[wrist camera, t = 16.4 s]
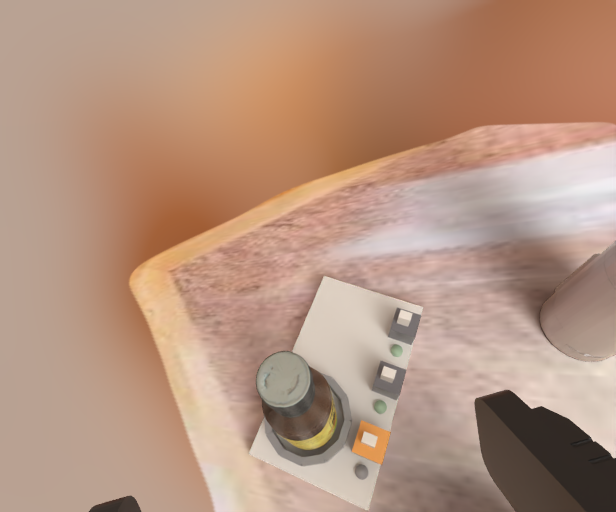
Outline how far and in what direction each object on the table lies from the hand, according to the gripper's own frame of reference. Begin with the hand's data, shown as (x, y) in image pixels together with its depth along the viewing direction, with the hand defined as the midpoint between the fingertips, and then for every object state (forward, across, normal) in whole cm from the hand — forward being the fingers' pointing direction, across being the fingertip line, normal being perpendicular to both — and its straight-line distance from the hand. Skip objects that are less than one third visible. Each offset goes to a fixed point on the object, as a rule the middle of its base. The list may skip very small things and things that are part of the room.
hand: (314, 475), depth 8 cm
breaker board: (+34, -3, +20) cm, 40 cm away
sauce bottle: (+30, +2, +22) cm, 37 cm away
